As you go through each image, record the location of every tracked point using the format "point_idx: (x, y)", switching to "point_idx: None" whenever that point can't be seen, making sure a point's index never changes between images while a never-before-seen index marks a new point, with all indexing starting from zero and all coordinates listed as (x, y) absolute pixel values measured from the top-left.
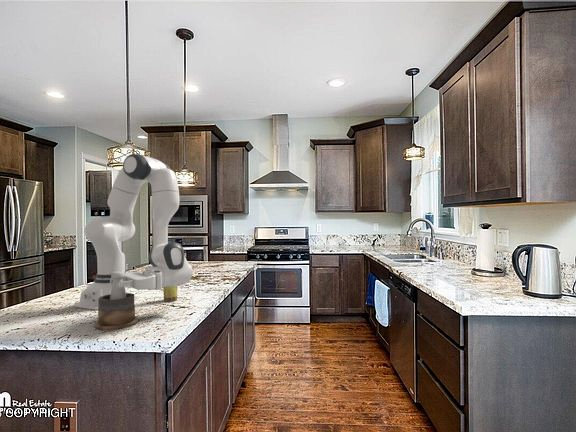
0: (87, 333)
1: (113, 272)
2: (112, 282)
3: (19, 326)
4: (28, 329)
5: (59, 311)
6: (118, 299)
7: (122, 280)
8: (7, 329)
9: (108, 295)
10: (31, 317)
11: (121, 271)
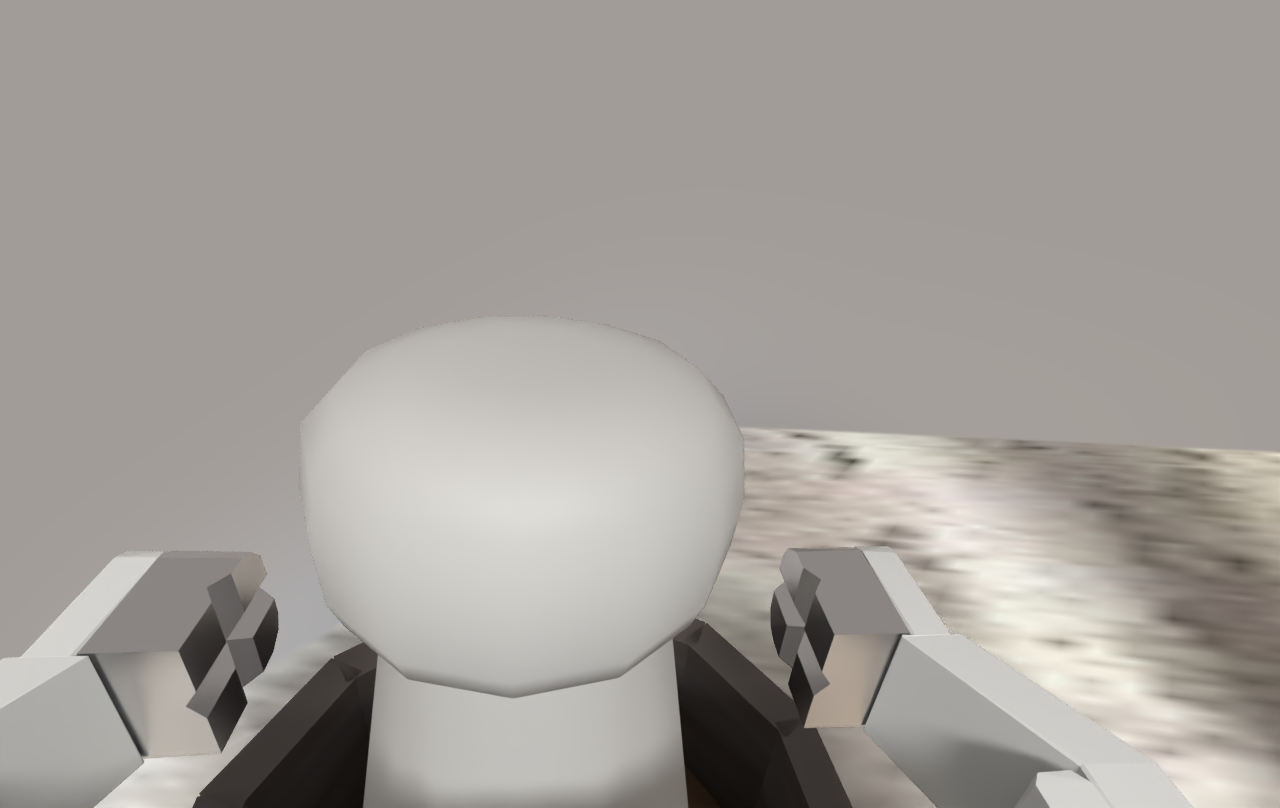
0: None
1: (538, 317)
2: (777, 613)
3: (888, 465)
4: (804, 481)
5: (1276, 632)
6: (220, 790)
7: (427, 716)
8: (850, 437)
9: (780, 746)
10: (1087, 508)
11: (494, 430)
